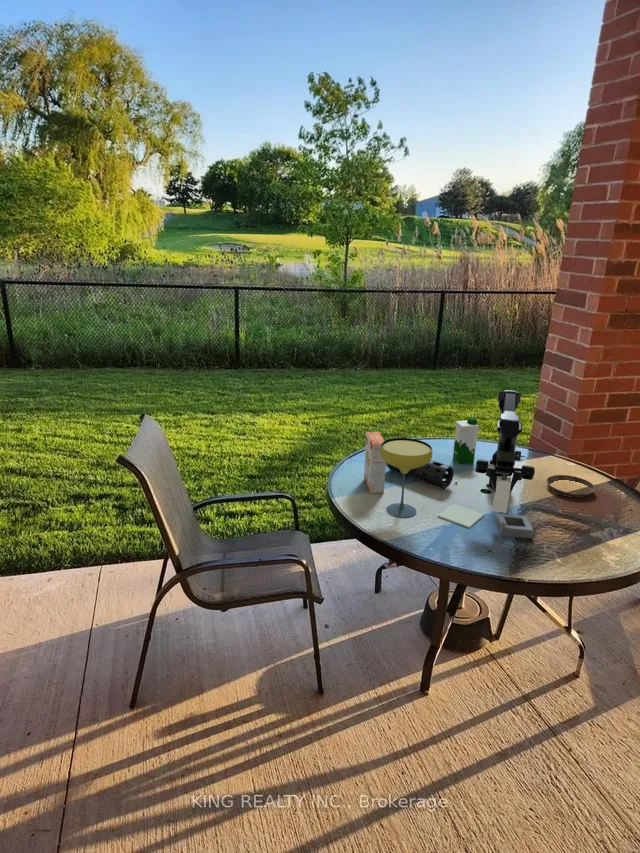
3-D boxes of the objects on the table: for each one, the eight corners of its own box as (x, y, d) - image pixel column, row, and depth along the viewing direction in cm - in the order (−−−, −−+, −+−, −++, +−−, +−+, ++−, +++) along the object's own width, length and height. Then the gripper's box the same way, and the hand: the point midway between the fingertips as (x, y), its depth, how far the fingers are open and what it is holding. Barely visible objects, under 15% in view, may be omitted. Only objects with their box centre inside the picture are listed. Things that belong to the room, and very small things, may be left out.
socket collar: (496, 521, 183) (497, 513, 182) (525, 523, 182) (526, 516, 181) (500, 535, 174) (502, 527, 173) (532, 538, 173) (533, 530, 172)
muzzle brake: (440, 494, 204) (442, 469, 200) (382, 473, 222) (384, 450, 218) (452, 486, 210) (455, 463, 207) (395, 467, 228) (397, 445, 225)
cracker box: (363, 479, 215) (365, 431, 208) (377, 479, 216) (380, 431, 209) (368, 494, 202) (371, 443, 195) (384, 493, 202) (387, 443, 196)
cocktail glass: (370, 517, 184) (374, 451, 176) (383, 496, 200) (387, 434, 192) (421, 527, 178) (427, 459, 170) (430, 504, 194) (436, 442, 186)
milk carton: (476, 464, 233) (481, 421, 226) (456, 464, 232) (461, 422, 225) (468, 456, 241) (473, 415, 235) (450, 457, 240) (454, 416, 234)
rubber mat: (453, 505, 194) (453, 503, 194) (484, 515, 187) (484, 514, 187) (437, 516, 185) (437, 515, 185) (469, 528, 178) (469, 526, 178)
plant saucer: (571, 503, 198) (572, 496, 197) (535, 485, 213) (536, 478, 212) (603, 496, 205) (605, 488, 204) (567, 478, 220) (568, 472, 219)
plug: (493, 505, 180) (497, 471, 176) (506, 507, 179) (511, 473, 175) (492, 510, 176) (497, 476, 172) (506, 512, 175) (511, 478, 171)
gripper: (479, 437, 176) (474, 480, 170) (538, 444, 171) (535, 488, 164) (477, 451, 186) (472, 491, 179) (533, 458, 180) (530, 500, 174)
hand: (502, 492), depth 174 cm, fingers closed on plug, 4 cm apart
